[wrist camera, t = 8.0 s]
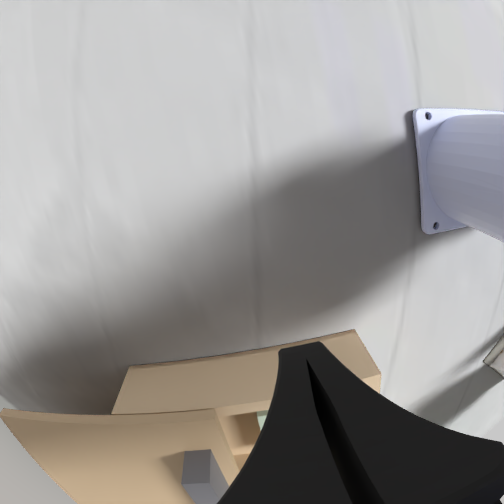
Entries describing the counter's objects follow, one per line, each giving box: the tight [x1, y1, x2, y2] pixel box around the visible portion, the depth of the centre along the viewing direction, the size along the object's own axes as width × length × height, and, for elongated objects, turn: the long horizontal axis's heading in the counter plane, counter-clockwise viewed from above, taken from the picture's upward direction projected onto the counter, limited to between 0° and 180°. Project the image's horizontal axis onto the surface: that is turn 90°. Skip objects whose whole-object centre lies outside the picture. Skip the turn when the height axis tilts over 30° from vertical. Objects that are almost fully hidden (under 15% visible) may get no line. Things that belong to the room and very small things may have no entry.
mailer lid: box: [0, 408, 240, 504], centre depth 17 cm, size 16×12×3 cm
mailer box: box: [111, 329, 381, 471], centre depth 21 cm, size 16×12×5 cm
